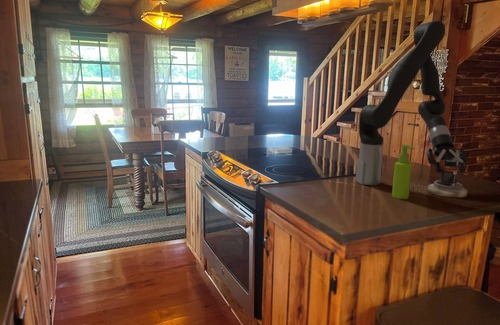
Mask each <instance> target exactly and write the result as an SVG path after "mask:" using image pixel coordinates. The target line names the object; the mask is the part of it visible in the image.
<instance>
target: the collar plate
mask: <svg viewBox="0 0 500 325" xmlns="http://www.w3.org/2000/svg"><path fill="white" fill-rule="evenodd" d="M427 191H428V193H430V194H433V195H436V196H440V197H447V198H465V197H468V192H469V191H468V189H466V188H465V187H464V185H463V184H462V183H460V182H458V181H457V184H456V186H444V185H440V179H439V180H437V179H436V180H434V181H433V183H432V184H428V186H427Z"/></svg>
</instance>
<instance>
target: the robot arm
mask: <svg viewBox="0 0 500 325" xmlns="http://www.w3.org/2000/svg"><path fill="white" fill-rule="evenodd" d="M445 34H446V26H445V23H444V22H442V21H440V20H432V21H428V22H425V23H422V24H419V25H418V26H416V27H415V29H414V32H413V43H414V48H413V49H411V50H410V51H409V52H408V53H406V54H405V56H403V57H402V58H401V59H400V60H399V61H398V62H397V63H396V64H395V66H394V68H393V69H392V70H391V72H390V73H389V75H388V78H387V88H386V93H385V94H384V97H383V98H382V99H381V100H380V103H379V104H377V105H375V104H366V105H364V107H363V108H362V109H361V111H360V114H359V117H358V118H359V119H358V120H359V121H358V122H359V123H358V135H359V139H360V140H359V141H360V143H359V144H360V145H359V156H358V159H357V161H356V172H355V182H357V183H359V184H360V185H367V186H378V185H380V183H381V172H382V161H383V160H382V159H383V151H384V150H383V149H384V137H383V136H382V135H381V134H380V133H379V130H378V129H382V128H384V127H386V126H387V125H388V124H389V122H390V120H391V118H392V116H393V115H394V113H395V110H396V109H397V106H398V105H399V103H400V101H401V99H402V98H403V96H404V95H405V93H406V91H407V90H408V89H409V87H410V85H411V84H412V83H413V81H414V79H416V76H417V75H418V73H419V72H420V78H421V79H420V80H421V93H422V95H423V96H431V97H433V98H434V99H432V100H426V101H421V102H420V103H419V104H418V106H417V111H418V114H419V116H420V117H421V119H422V120H423V121H424V122H425V125H426V127H427V129H428V134H429V138H430V139H429V140H430V142H431V146H432V147H431V148H429V149H428V150H427V151H426V157H427V161H428V164H429V165H434V168H435V171H436V172H437V173H438V174H441V171H442V165H441V162H440V161H443V162H445V160H455V161H457V164H456V165H457V167H458V168H459V169H458V173H459V174H463V173H465V171H466V168H465V164H466V163H467V162H468V158H467V155H466V152H465V151H464V149H462V148H460V149H459V150H458V149H455V145H454V142H453V141H454V140H453V139H452V135H451V132H450V130H449V128H448V126H447V122H446V120H445V118H444V117H443V115H444V113H445V112H446V105H445V102H444V99H443V96H442V92H441V87H440V85H441V84H440V74H439V70H438V68H437V66H436V64H435V63H434V61H433V58H432V55H431V54H432V53H433V52H434V51H435V49H436V48H437V47H439V46H438V45H439V44H441V42H442V40H443V39H444V37H445ZM434 155H435V156H436V158H435V159H434Z"/></svg>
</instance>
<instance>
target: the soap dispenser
mask: <svg viewBox="0 0 500 325" xmlns="http://www.w3.org/2000/svg"><path fill="white" fill-rule="evenodd" d="M400 147H402V148H401V152H400V153H399V155H398V161H395V162H394V167H393V168H394V170H393V178H392V189H391V197H392V198H395V199H399V200H407V199H409V196H410V184H411V177H412V176H411V175H412V168H413V167H412V166H413V165H412V164H413V163H411V162H409V159H410V153H408V149H409V150H413V149H415V147H414V146H413V145H410V144H400Z"/></svg>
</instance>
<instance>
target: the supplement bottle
mask: <svg viewBox="0 0 500 325" xmlns="http://www.w3.org/2000/svg"><path fill="white" fill-rule="evenodd" d="M457 161H458V160H457ZM457 161H455V160H444V164H442V165H441V168H442V171H441V173H440V178H439V180H440V185H444V186H456V184H457V182H458V178H459V177H458V176H459V168H458V165H457Z"/></svg>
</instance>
